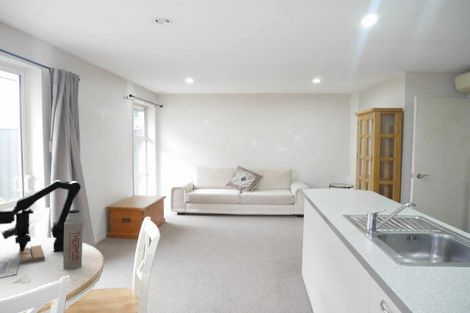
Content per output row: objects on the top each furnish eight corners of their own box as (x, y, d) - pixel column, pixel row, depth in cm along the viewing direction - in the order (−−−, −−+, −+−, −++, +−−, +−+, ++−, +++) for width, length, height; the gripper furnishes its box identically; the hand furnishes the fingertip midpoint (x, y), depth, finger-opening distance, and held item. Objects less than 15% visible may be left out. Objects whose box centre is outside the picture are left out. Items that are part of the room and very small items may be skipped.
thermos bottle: (81, 268, 142) (83, 211, 141) (62, 271, 138) (64, 212, 137) (81, 262, 149) (83, 208, 148) (63, 264, 145) (65, 209, 144)
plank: (19, 250, 159) (19, 248, 159) (28, 248, 161) (29, 246, 161) (20, 261, 144) (20, 259, 144) (31, 259, 146) (31, 257, 146)
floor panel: (19, 252, 159) (19, 248, 159) (40, 248, 165) (40, 245, 165) (20, 264, 143) (20, 260, 143) (44, 260, 150) (44, 256, 150)
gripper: (3, 220, 157) (2, 248, 157) (3, 228, 142) (2, 260, 143) (28, 217, 164) (27, 245, 164) (31, 225, 149) (30, 255, 149)
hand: (22, 251), depth 155 cm, fingers closed, pressing on plank
